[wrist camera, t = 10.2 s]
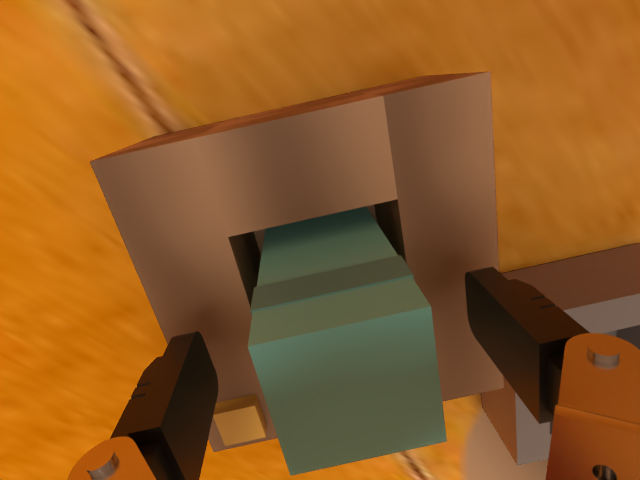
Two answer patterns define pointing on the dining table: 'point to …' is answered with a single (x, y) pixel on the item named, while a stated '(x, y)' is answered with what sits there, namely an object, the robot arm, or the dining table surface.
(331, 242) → the plug
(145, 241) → the port
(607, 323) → the grey square frame
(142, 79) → the dining table surface
